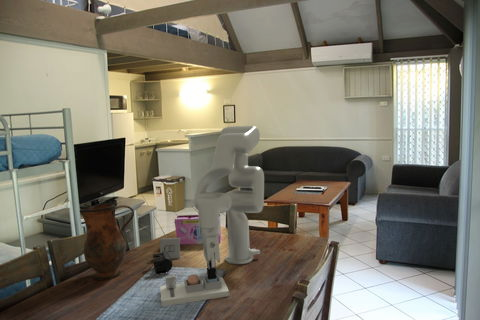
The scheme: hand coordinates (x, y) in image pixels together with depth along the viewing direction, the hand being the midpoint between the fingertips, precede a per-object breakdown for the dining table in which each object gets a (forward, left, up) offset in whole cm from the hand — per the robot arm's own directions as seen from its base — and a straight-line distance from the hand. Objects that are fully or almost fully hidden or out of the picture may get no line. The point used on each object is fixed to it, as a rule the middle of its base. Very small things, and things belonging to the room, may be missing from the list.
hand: (211, 278), depth 143 cm
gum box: (-3, -58, -5) cm, 59 cm away
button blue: (0, 0, -2) cm, 2 cm away
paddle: (+15, -3, -2) cm, 15 cm away
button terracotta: (+7, 0, -1) cm, 7 cm away
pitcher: (+38, -29, -5) cm, 48 cm away
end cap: (+17, -27, -5) cm, 32 cm away
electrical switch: (+13, -41, -5) cm, 43 cm away
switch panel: (+7, 0, -5) cm, 9 cm away
